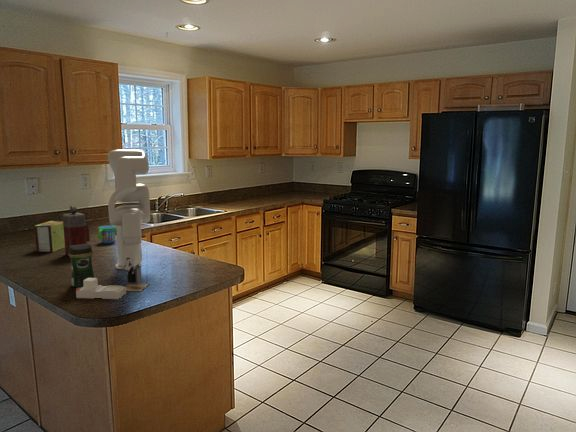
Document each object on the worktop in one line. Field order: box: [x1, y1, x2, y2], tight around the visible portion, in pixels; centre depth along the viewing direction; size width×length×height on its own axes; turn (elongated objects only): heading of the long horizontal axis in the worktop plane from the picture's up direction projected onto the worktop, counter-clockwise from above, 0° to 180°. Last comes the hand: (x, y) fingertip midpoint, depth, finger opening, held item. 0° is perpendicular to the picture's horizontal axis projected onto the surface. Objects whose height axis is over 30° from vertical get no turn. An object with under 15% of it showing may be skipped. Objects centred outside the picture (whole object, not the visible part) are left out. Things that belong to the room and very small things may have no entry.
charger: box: [126, 265, 142, 286], centre depth 192 cm, size 4×4×7 cm
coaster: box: [124, 283, 149, 292], centre depth 193 cm, size 9×9×1 cm
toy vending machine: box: [62, 205, 91, 257], centre depth 247 cm, size 9×11×28 cm
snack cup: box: [97, 225, 117, 244], centre depth 278 cm, size 16×10×10 cm
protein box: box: [33, 220, 65, 253], centre depth 261 cm, size 10×15×16 cm
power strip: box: [75, 277, 127, 300], centre depth 183 cm, size 18×7×7 cm, turn 86°
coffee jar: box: [68, 243, 96, 288], centre depth 196 cm, size 10×8×19 cm
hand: (134, 280), depth 193 cm, fingers closed on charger, 4 cm apart
